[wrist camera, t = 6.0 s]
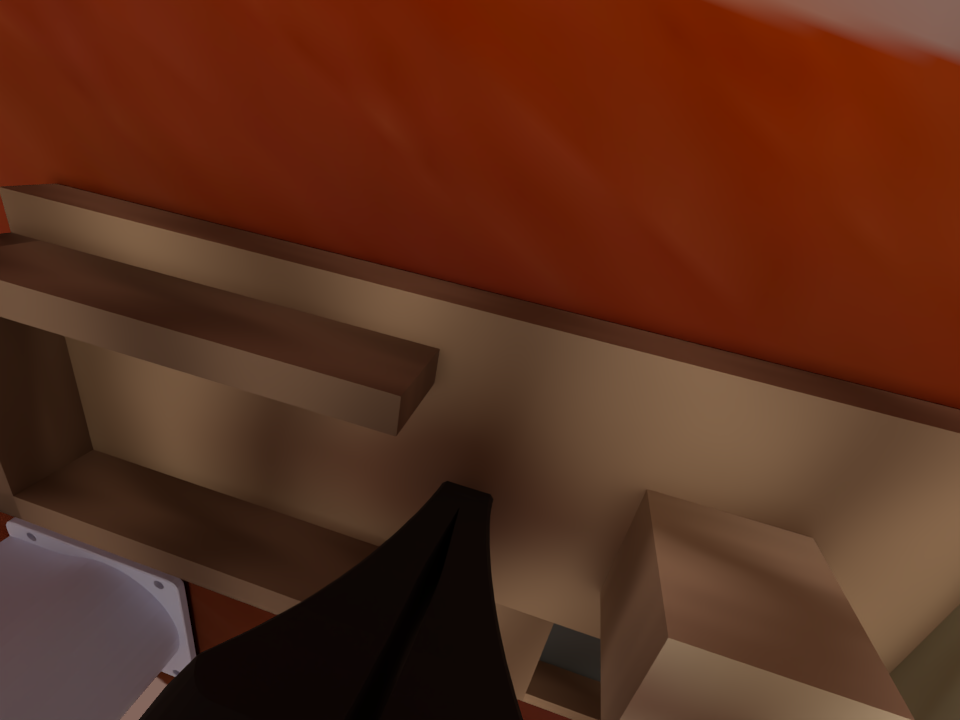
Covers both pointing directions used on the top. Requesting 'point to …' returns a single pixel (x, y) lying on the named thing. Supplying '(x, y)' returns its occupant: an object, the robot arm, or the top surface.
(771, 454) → the board
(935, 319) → the top surface
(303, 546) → the cubby
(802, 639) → the cube
